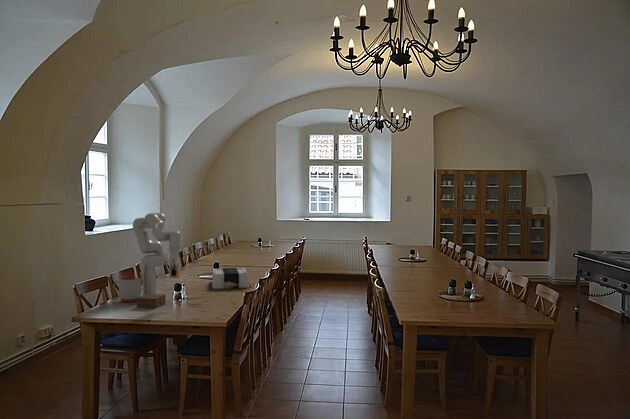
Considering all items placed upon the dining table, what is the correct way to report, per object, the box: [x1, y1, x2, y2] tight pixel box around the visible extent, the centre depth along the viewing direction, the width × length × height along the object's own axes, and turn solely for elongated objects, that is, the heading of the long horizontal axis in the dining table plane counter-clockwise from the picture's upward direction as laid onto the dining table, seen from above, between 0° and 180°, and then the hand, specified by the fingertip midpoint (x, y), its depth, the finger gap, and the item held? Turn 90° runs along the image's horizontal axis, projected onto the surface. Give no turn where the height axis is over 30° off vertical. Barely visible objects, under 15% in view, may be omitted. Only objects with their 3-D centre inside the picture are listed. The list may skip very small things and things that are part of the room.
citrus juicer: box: [118, 272, 143, 304], centre depth 359 cm, size 16×17×20 cm
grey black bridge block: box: [209, 267, 252, 290], centre depth 421 cm, size 35×33×12 cm
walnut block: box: [136, 293, 166, 310], centre depth 345 cm, size 14×14×7 cm
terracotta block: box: [168, 264, 181, 279], centre depth 347 cm, size 6×6×8 cm
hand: (174, 274), depth 347 cm, fingers closed on terracotta block, 6 cm apart
